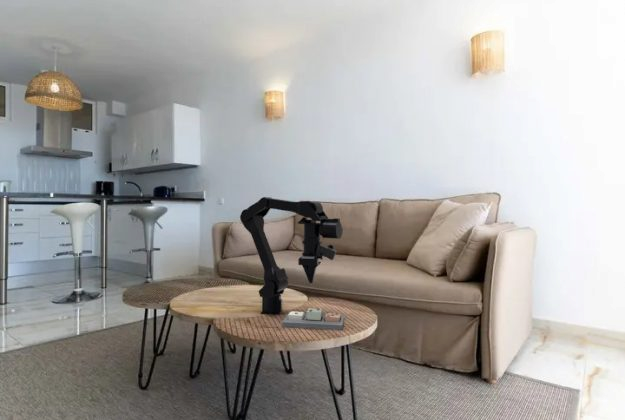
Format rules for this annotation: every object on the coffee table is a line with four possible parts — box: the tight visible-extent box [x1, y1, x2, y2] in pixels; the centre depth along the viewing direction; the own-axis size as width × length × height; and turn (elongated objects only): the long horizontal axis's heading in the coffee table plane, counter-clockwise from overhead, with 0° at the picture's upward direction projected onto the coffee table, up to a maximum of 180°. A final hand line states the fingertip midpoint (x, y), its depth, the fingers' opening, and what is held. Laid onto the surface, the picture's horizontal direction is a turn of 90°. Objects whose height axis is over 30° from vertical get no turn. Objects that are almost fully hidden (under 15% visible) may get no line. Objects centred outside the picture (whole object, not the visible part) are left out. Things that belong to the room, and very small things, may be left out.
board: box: [281, 311, 345, 331], centre depth 130 cm, size 19×12×2 cm, turn 82°
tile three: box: [325, 312, 341, 322], centre depth 129 cm, size 4×4×3 cm
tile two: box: [306, 307, 323, 320], centre depth 130 cm, size 4×4×3 cm
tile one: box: [287, 311, 305, 320], centre depth 131 cm, size 4×4×3 cm
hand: (311, 282), depth 136 cm, fingers closed
